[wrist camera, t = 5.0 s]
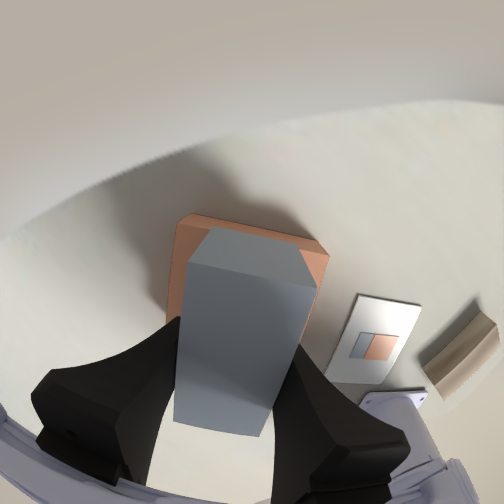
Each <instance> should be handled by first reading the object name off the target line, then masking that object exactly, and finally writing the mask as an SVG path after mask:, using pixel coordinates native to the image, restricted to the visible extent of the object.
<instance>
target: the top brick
mask: <svg viewBox="0 0 504 504" xmlns="http://www.w3.org/2000/svg"><path fill="white" fill-rule="evenodd" d="M317 290H318V287H317V285H316V283H315V281H314V279H313V277H312V275H311V273H310V270H309V268H308V266H307V264H306V262H305V260H304V258H303V256H302V254H301V252H300V250H299V248H298V246H297V244H293V243H289V242H285V241H280V240H275V239H271V238H266V237H262V236H257V235H253V234H248V233H243V232H239V231H234V230H229V229H224V228H220V227H215V226H213V227H212V229H211V230H210V231H209V233H208V234H207V235H206V237H205V238H204V240H203V241H202V242H201V244H200V245H199V246H198V248H197V249H196V251H195V252H194V253H193V255H192V256H191V257H190V259H189V260H188V264H187V271H186V278H185V286H184V294H183V302H182V311H181V320H180V330H179V340H178V351H177V363H176V377H175V393H174V414H173V421H174V422H178V423H182V424H186V425H191V426H195V427H200V428H204V429H210V430H215V431H220V432H226V433H232V434H239V435H246V436H255V437H259V435H260V433H261V431H262V429H263V427H264V425H265V422H266V420H267V418H268V416H269V414H270V411H271V409H272V407H273V405H274V402H275V400H276V398H277V396H278V393H279V391H280V389H281V386H282V384H283V381H284V379H285V377H286V374H287V372H288V369H289V367H290V364H291V362H292V359H293V357H294V354H295V351H296V349H297V346H298V344H299V341H300V338H301V336H302V333H303V330H304V328H305V325H306V322H307V319H308V316H309V314H310V311H311V308H312V305H313V302H314V299H315V296H316V293H317Z"/></svg>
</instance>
